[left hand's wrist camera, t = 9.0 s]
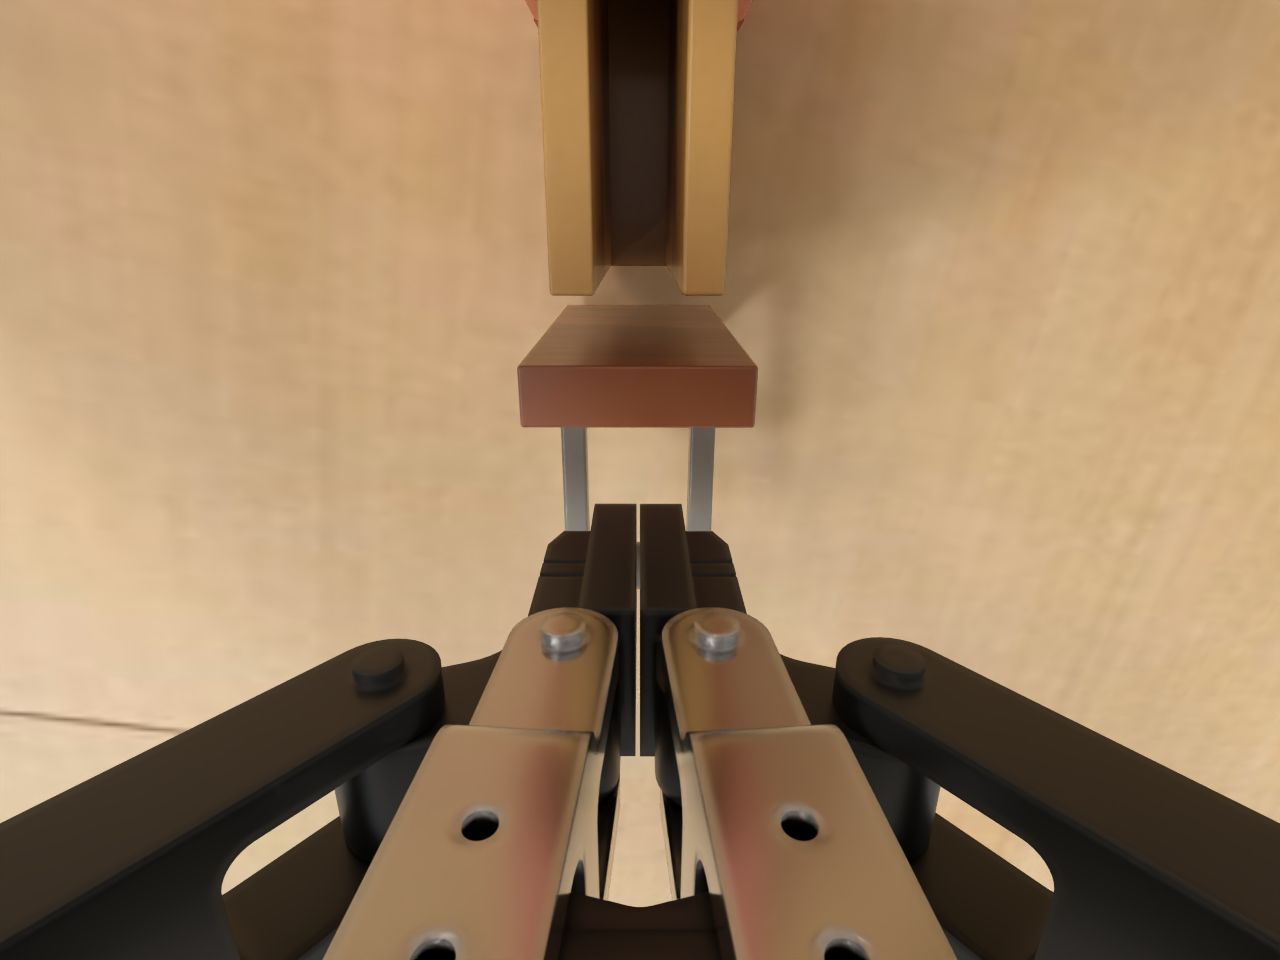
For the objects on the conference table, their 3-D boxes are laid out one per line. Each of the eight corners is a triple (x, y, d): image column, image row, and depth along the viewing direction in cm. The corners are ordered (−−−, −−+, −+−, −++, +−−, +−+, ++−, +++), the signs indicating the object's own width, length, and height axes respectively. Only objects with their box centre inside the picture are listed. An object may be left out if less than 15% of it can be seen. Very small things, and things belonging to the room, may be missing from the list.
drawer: (702, 505, 24) (739, 673, 15) (574, 504, 24) (535, 672, 15) (734, -361, 16) (848, -1060, 7) (543, -361, 16) (427, -1063, 7)
